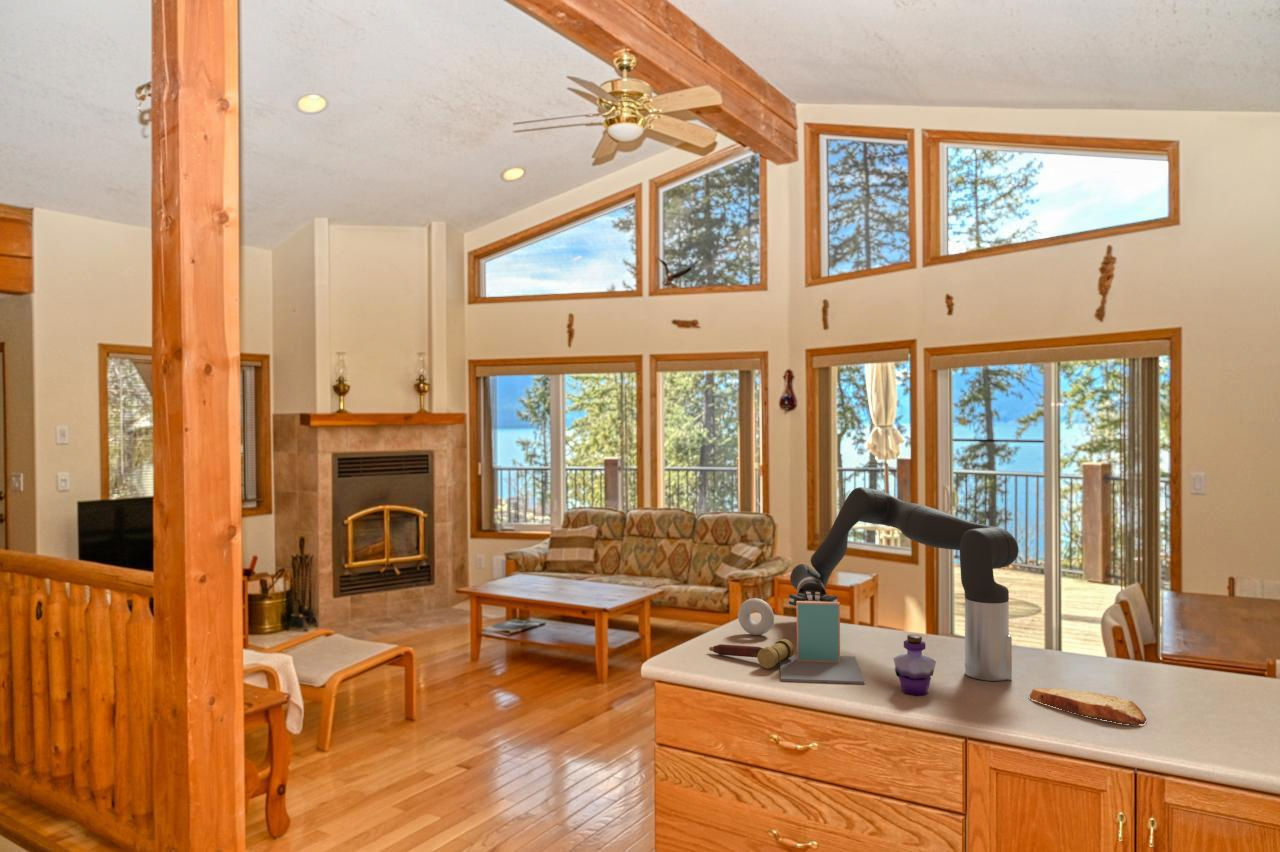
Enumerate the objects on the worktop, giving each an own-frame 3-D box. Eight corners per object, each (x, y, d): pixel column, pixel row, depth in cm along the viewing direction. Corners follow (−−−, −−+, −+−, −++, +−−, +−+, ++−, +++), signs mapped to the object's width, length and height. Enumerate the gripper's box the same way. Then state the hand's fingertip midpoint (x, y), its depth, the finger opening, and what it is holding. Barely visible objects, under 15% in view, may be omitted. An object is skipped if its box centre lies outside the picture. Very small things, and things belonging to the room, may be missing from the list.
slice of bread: (1023, 696, 181) (1023, 678, 181) (1113, 698, 179) (1113, 680, 179) (1055, 726, 163) (1055, 706, 163) (1155, 729, 161) (1155, 709, 161)
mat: (855, 658, 208) (855, 656, 208) (864, 684, 188) (864, 681, 188) (779, 656, 211) (779, 653, 211) (780, 681, 191) (780, 678, 191)
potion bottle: (894, 684, 188) (893, 629, 188) (935, 687, 186) (935, 632, 186) (892, 696, 180) (892, 639, 180) (936, 700, 177) (936, 642, 177)
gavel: (697, 644, 210) (719, 635, 218) (699, 662, 210) (720, 653, 218) (773, 649, 198) (793, 639, 206) (775, 669, 198) (795, 658, 205)
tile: (839, 660, 204) (839, 601, 204) (840, 662, 203) (839, 603, 203) (796, 659, 206) (796, 600, 206) (797, 661, 204) (796, 602, 204)
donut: (736, 634, 232) (735, 597, 232) (740, 631, 235) (739, 595, 235) (772, 638, 228) (772, 600, 228) (775, 635, 231) (775, 598, 231)
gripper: (786, 578, 234) (788, 592, 216) (836, 579, 232) (841, 593, 214) (786, 605, 234) (787, 621, 217) (836, 607, 232) (841, 623, 215)
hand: (814, 607), depth 216 cm, fingers closed
